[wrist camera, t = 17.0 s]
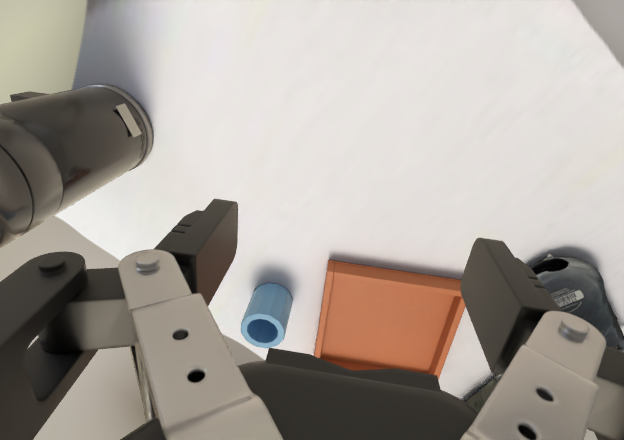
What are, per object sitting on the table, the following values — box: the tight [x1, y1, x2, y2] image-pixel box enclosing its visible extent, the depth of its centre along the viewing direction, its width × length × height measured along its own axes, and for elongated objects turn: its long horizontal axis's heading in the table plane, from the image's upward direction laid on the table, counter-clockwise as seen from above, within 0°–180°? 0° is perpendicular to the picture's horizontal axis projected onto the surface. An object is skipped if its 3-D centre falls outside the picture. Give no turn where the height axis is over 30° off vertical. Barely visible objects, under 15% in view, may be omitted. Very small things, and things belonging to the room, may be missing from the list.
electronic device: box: [530, 254, 624, 352], centre depth 44 cm, size 9×6×15 cm
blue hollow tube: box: [241, 283, 292, 348], centre depth 47 cm, size 5×5×6 cm
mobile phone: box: [465, 374, 503, 412], centre depth 52 cm, size 5×3×15 cm
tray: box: [314, 260, 465, 379], centre depth 49 cm, size 17×17×2 cm
